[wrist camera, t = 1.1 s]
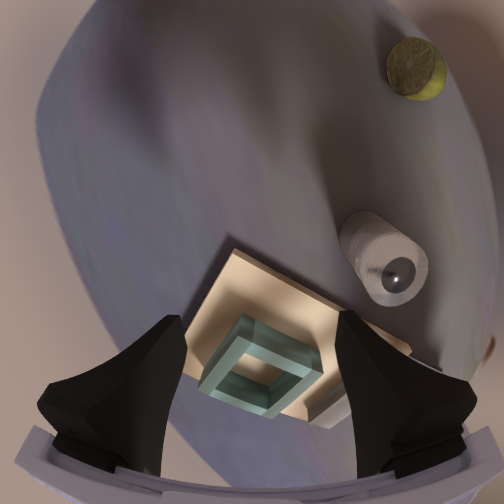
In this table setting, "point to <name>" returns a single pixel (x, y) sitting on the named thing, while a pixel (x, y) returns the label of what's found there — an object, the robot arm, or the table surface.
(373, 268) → the bushing
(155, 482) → the robot arm
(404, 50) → the lime
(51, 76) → the table surface
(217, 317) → the jig
